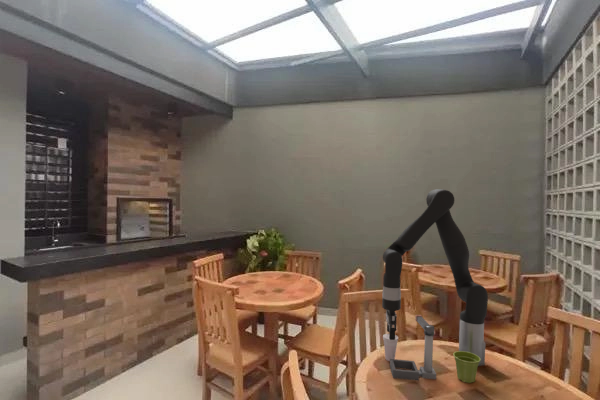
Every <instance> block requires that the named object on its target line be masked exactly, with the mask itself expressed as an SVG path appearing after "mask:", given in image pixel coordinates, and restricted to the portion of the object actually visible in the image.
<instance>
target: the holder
mask: <svg viewBox="0 0 600 400" xmlns="http://www.w3.org/2000/svg"><path fill="white" fill-rule="evenodd" d="M423 347H424V350H423V351H424V353H423V366H419V369H418V367H417V365H416V362H415V360H408V359H407V360H406V359H396V358H395V359H390V361H389V368H390V372H391V375H392V379H398V380H399V379H400V380H410V381H411V380H412V381H420V377H421V378H422V379H428V380H436V379H437V372H436V371H435V369H434V367H433V351H434V335H433V336H428V335H425V334H424V346H423Z"/></svg>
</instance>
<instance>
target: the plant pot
mask: <svg viewBox="0 0 600 400" xmlns="http://www.w3.org/2000/svg"><path fill="white" fill-rule="evenodd" d="M452 355H453V358H454V360H455V366H456V367H455V368H456V376H457V378H458V380H460V381H462V382H464V383H468V384H471V383H475V382H476V379H477V378H476V377H477V373H478V367H479V366H478V364H479V362H480V360H481V359H480V357H479V356H477V355H475V354H473V353H470V352H465V351H459V350H457V351H454V352H453V353H452Z"/></svg>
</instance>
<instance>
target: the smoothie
mask: <svg viewBox="0 0 600 400" xmlns="http://www.w3.org/2000/svg"><path fill="white" fill-rule="evenodd" d="M392 328H394V325H392ZM382 339H383V346H384V347H383V348H384V358H385V360H386V361H387V362H390V359H396V354H397V345H398V341H399V336H398V335H396V334H395V340H390V339H389V333H384V334H382Z"/></svg>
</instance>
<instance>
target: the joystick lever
mask: <svg viewBox="0 0 600 400" xmlns="http://www.w3.org/2000/svg"><path fill="white" fill-rule="evenodd" d="M414 317H415V318H414V320H415V322H417V323H418V324H419V326H421V328H422V329H423V330H424V331H423V334H424V336H425V335H428V336H433V337H434V336H435V326H434V325H433V324H432V325H431V324H429V323H428V322H427V320H426V319H424V318H423V315H422V314H415V316H414Z"/></svg>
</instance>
